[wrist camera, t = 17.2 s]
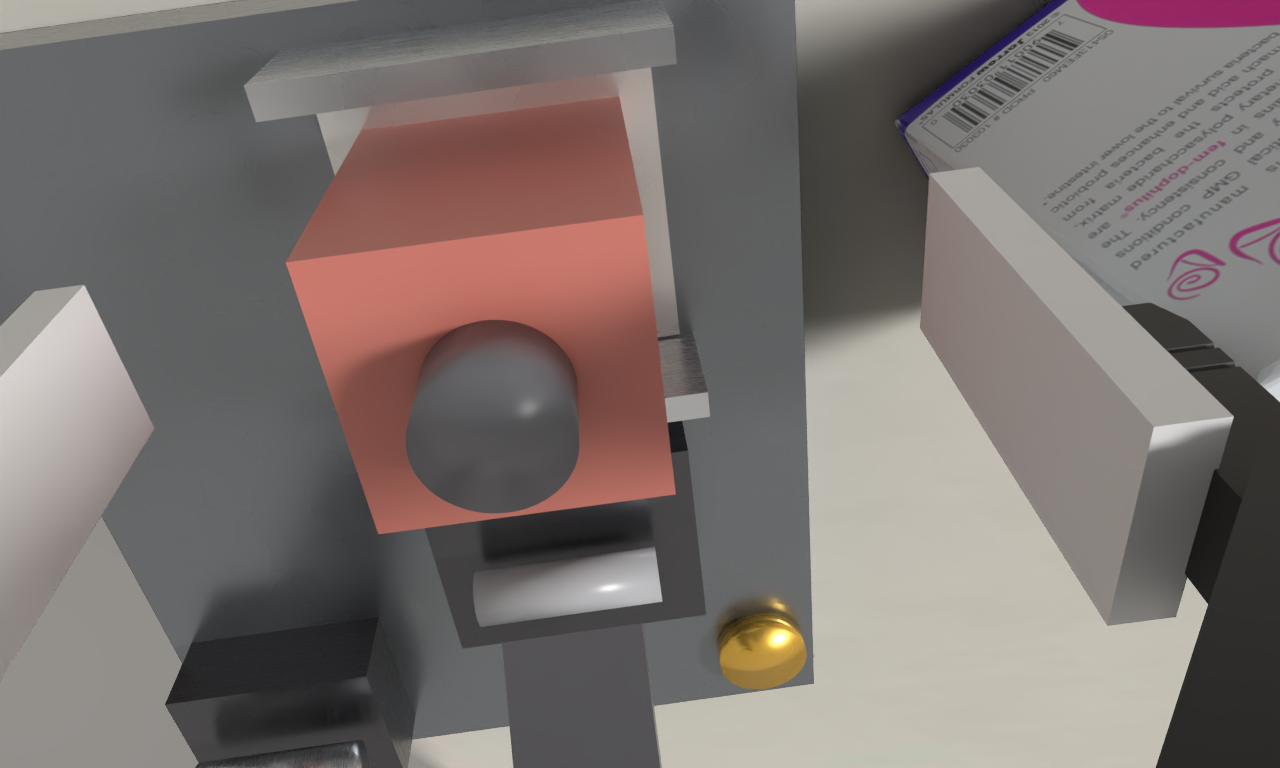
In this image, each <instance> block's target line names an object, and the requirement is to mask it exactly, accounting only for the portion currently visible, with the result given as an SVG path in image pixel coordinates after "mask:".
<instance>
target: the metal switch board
mask: <svg viewBox="0 0 1280 768" xmlns="http://www.w3.org/2000/svg"><path fill="white" fill-rule="evenodd" d="M618 96H619V98H620V102H621V107H622V112H623V117H624V122H625V127H626V132H627V137H628V142H629V147H630V152H631V157H632V161H633V166H634V171H635V176H636V181H637V186H638V191H639V196H640V201H641V206H642V211H643V216H644V225H645V233H646V242H647V251H648V259H649V268H650V276H651V285H652V294H653V302H654V311H655V320H656V328H657V337H658V345H659V354H660V363H661V371H662V380H663V388H664V397H665V406H666V414H667V423H668V432H669V440H670V449H671V457H672V466H673V475H674V483H675V492H676V494H675V495H668V496H660V497H653V498H645V499H638V500H630V501H623V502H615V503H608V504H601V505H593V506H586V507H578V508H571V509H563V510H556V511H548V512H541V513H534V514H526V515H519V516H511V517H504V518H496V519H489V520H482V521H474V522H467V523H459V524H452V525H444V526H437V527H429V528H422V529H415V530H407V531H400V532H392V533H385V534H378V532H377V529H376V526H375V523H374V520H373V517H372V514H371V511H370V508H369V505H368V502H367V499H366V496H365V494H364V491H363V488H362V485H361V482H360V479H359V476H358V473H357V470H356V467H355V464H354V461H353V458H352V455H351V452H350V450H349V447H348V444H347V441H346V438H345V435H344V432H343V429H342V426H341V423H340V420H339V417H338V414H337V411H336V409H335V406H334V403H333V400H332V397H331V394H330V391H329V388H328V385H327V382H326V379H325V376H324V373H323V370H322V367H321V365H320V362H319V359H318V356H317V353H316V350H315V347H314V344H313V341H312V338H311V335H310V332H309V329H308V326H307V323H306V321H305V318H304V315H303V312H302V309H301V306H300V303H299V300H298V297H297V294H296V291H295V288H294V285H293V282H292V279H291V277H290V274H289V271H288V268H287V265H286V261H287V259H288V258H289V256H290V254H291V252H292V250H293V249H294V247H295V245H296V243H297V242H298V240H299V238H300V236H301V235H302V233H303V231H304V229H305V228H306V226H307V224H308V222H309V221H310V219H311V217H312V215H313V214H314V212H315V210H316V208H317V207H318V205H319V203H320V201H321V200H322V198H323V196H324V194H325V193H326V191H327V189H328V187H329V186H330V184H331V182H332V180H333V179H334V177H335V175H336V173H337V172H338V170H339V168H340V166H341V165H342V163H343V161H344V159H345V158H346V156H347V154H348V152H349V151H350V149H351V147H352V145H353V143H354V142H355V140H356V138H357V136H358V135H359V133H360V131H362V130H369V129H377V128H384V127H392V126H399V125H407V124H414V123H422V122H429V121H437V120H444V119H452V118H459V117H467V116H475V115H482V114H490V113H497V112H505V111H512V110H520V109H527V108H535V107H542V106H550V105H557V104H565V103H572V102H580V101H588V100H595V99H603V98H610V97H618ZM78 285H85V287H86V289H87V291H88V293H89V295H90V298H91V300H92V302H93V304H94V306H95V308H96V310H97V312H98V314H99V316H100V318H101V320H102V322H103V324H104V326H105V328H106V330H107V332H108V334H109V336H110V338H111V340H112V342H113V345H114V347H115V349H116V351H117V353H118V355H119V357H120V359H121V361H122V363H123V365H124V367H125V369H126V371H127V373H128V375H129V377H130V379H131V381H132V383H133V385H134V387H135V389H136V392H137V394H138V396H139V398H140V400H141V402H142V404H143V406H144V408H145V410H146V412H147V414H148V416H149V418H150V420H151V422H152V424H153V426H154V430H153V431H152V433H151V435H150V436H149V438H148V440H147V441H146V443H145V445H144V446H143V448H142V449H141V451H140V453H139V454H138V456H137V458H136V459H135V461H134V463H133V464H132V466H131V468H130V469H129V471H128V472H127V474H126V476H125V477H124V479H123V481H122V482H121V484H120V486H119V487H118V489H117V491H116V492H115V494H114V495H113V497H112V499H111V500H110V502H109V504H108V505H107V507H106V509H105V510H104V512H103V514H102V515H101V516H102V518H103V519H104V521H105V523H106V525H107V527H108V529H109V530H110V532H111V534H112V536H113V538H114V540H115V541H116V543H117V545H118V547H119V549H120V550H121V552H122V554H123V556H124V558H125V559H126V561H127V563H128V565H129V567H130V569H131V571H132V572H133V574H134V576H135V578H136V580H137V582H138V583H139V585H140V587H141V589H142V591H143V592H144V594H145V596H146V598H147V600H148V602H149V603H150V605H151V607H152V609H153V611H154V613H155V614H156V616H157V618H158V620H159V621H160V623H161V625H162V627H163V629H164V631H165V632H166V634H167V636H168V638H169V640H170V642H171V644H172V645H173V647H174V649H175V651H176V653H177V654H178V656H179V658H180V660H181V662H182V666H181V669H180V671H179V673H178V676H177V678H176V680H175V683H174V685H173V687H172V690H171V692H170V694H169V697H168V699H167V701H166V704H165V705H166V707H167V709H168V711H169V712H170V714H171V716H172V717H173V719H174V721H175V723H176V724H177V726H178V728H179V729H180V731H181V733H182V735H183V736H184V738H185V740H186V741H187V743H188V745H189V746H190V748H191V750H192V752H193V753H194V755H195V757H196V759H197V760H198V762H199V764H198V765H197V766H196V768H408V762H409V756H410V750H411V743H412V739H419V738H426V737H433V736H441V735H448V734H455V733H462V732H469V731H477V730H484V729H491V728H498V727H505V726H510V724H509V713H508V703H507V692H506V681H505V671H504V660H503V649H502V643H504V642H511V641H518V640H525V639H532V638H540V637H547V636H554V635H561V634H568V633H576V632H583V631H590V630H597V629H604V628H611V627H619V626H626V625H633V624H640V623H642V624H643V628H644V636H645V643H646V651H647V659H648V666H649V674H650V681H651V689H652V697H653V704H654V706H656V705H663V704H670V703H678V702H685V701H692V700H699V699H706V698H713V697H721V696H728V695H735V694H742V693H749V692H757V691H764V690H771V689H778V688H785V687H792V686H800V685H807V684H814V673H813V637H812V601H811V565H810V529H809V493H808V457H807V421H806V384H805V348H804V312H803V276H802V240H801V204H800V168H799V132H798V96H797V60H796V23H795V0H237V1H230V2H223V3H216V4H209V5H201V6H194V7H187V8H180V9H172V10H165V11H158V12H151V13H144V14H136V15H129V16H122V17H115V18H108V19H100V20H93V21H86V22H79V23H72V24H64V25H57V26H50V27H43V28H36V29H28V30H21V31H14V32H7V33H0V326H1V325H2V324H3V323H4V322H5V321H6V320H7V319H8V318H9V317H10V316H11V315H12V314H13V313H14V312H15V311H16V310H17V309H18V308H19V307H20V306H21V305H22V304H23V303H24V302H25V301H26V300H27V299H28V298H29V297H30V296H31V295H32V294H33V293H34V292H35V291H40V290H48V289H55V288H63V287H70V286H78ZM650 547H655V551H656V558H657V565H658V572H659V579H660V587H661V594H662V602H657V603H650V604H643V605H635V606H628V607H621V608H614V609H607V610H599V611H592V612H585V613H578V614H571V615H564V616H556V617H549V618H542V619H535V620H528V621H520V622H513V623H506V624H499V625H492V626H485V627H481V626H480V625H479V623H478V620H477V617H476V613H475V607H474V598H473V578H474V574H475V572H477V571H485V570H492V569H499V568H506V567H513V566H521V565H528V564H535V563H542V562H549V561H556V560H564V559H571V558H578V557H585V556H592V555H600V554H607V553H614V552H621V551H628V550H636V549H643V548H650Z"/></svg>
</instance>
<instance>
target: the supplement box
mask: <svg viewBox="0 0 1280 768" xmlns="http://www.w3.org/2000/svg"><path fill="white" fill-rule="evenodd" d="M895 125H896V127H897V128H898V130H899V131H900V133H901V135H902V137H903V139H904V141H905V143H906V144H907V146H908V147H909V149H910V150H911V152H912V154H913V155H914V156H915V158H916V160H917V162H918V163H919V165H920V166H921V168H922V170H923V171H924V173H925V175H926V176H927V178H928V179H929V174H930V173H937V172H945V171H952V170H960V169H968V168H975V167H980V168H981V169H982V170H983V171H984V172H985V173H986V174H987V175H988V176H989V177H990V178H991V179H992V180H993V181H994V182H995V183H996V184H997V185H998V186H999V187H1000V188H1001V189H1002V190H1003V191H1004V192H1005V193H1006V194H1007V195H1008V196H1009V197H1010V198H1011V199H1012V200H1013V201H1014V202H1015V203H1016V204H1017V205H1018V206H1019V207H1020V208H1021V209H1022V210H1024V211H1025V212H1026V213H1027V214H1028V215H1029V216H1030V217H1031V218H1032V219H1033V220H1034V221H1035V222H1036V223H1037V224H1038V225H1039V226H1040V227H1041V228H1042V229H1043V230H1044V231H1045V232H1046V233H1047V234H1048V235H1049V236H1050V237H1051V238H1052V239H1053V240H1054V241H1055V242H1056V243H1057V244H1058V245H1059V246H1060V247H1061V248H1062V249H1063V250H1064V251H1065V252H1066V253H1067V254H1068V255H1069V256H1070V257H1072V258H1073V259H1074V260H1075V261H1076V262H1077V263H1078V264H1079V265H1080V266H1081V267H1082V268H1083V269H1084V270H1085V271H1086V272H1087V273H1088V274H1089V275H1090V276H1091V277H1092V278H1093V279H1094V280H1095V281H1096V282H1097V283H1098V284H1099V285H1100V286H1101V287H1102V288H1103V289H1104V290H1105V291H1106V292H1107V293H1108V294H1109V295H1110V296H1111V297H1112V298H1113V299H1114V300H1115V301H1116V302H1117V303H1118V304H1120V305H1121V306H1127V305H1135V304H1142V303H1150V302H1151V303H1153V304H1155V305H1157V306H1159V307H1161V308H1164V309H1166V310H1168V311H1170V312H1172V313H1174V314H1176V315H1179V316H1181V317H1183V318H1185V319H1187V320H1189V321H1190V322H1191V323H1192V324H1193V325H1195V326H1196V327H1197V328H1198V329H1199V330H1200V331H1201V332H1202V333H1203V334H1205V335H1206V336H1207V337H1208V338H1209V339H1210V340H1211V341H1212V342H1214V347H1215V348H1218V347H1219V348H1220V349H1221V350H1222V351H1224V352H1225V353H1226V354H1227V355H1228V356H1229V357H1230V358H1231V359H1232V360H1234V361H1235V366H1236V367H1238V366H1240V367H1241V368H1243V369H1244V370H1245V371H1246V372H1247V373H1248V374H1249V375H1250V376H1251V377H1253V378H1254V379H1255V380H1256V381H1257V382H1258V383H1259V384H1260V385H1261V386H1263V387H1264V388H1265V389H1266V390H1267V391H1268V392H1269V393H1270V394H1272V395H1273V396H1274V397H1275V398H1276V399H1277V400H1278V401H1279V402H1280V0H1053V1H1051V2H1050V3H1049V4H1047V5H1046V6H1045V7H1043V8H1042V9H1041V10H1039V11H1038V12H1037V13H1035V14H1034V15H1032V16H1031V17H1030V18H1029V19H1027V20H1026V21H1025V22H1024V23H1023V24H1022V25H1020V26H1019V27H1017V28H1016V29H1014V30H1013V31H1011V32H1010V33H1009V34H1008V35H1007V36H1005V37H1004V38H1003V39H1002V40H1000V41H999V42H997V43H996V44H995V45H993V46H992V47H991V48H990V49H988V50H987V51H986V52H984V53H983V54H982V55H981V56H979V57H978V58H977V59H975V60H974V61H973V62H971V63H970V64H969V65H967V66H966V67H965V68H963V69H962V70H961V71H960V72H958V73H957V74H956V75H954V76H953V77H952V78H950V79H949V80H948V81H946V82H945V83H944V84H942V85H941V86H940V87H939V88H937V89H936V90H935V91H933V92H932V93H931V94H930V95H928V96H927V97H926V98H924V99H923V100H922V101H920V102H919V103H918V104H917V105H915V106H914V107H913V108H911V109H910V110H908V111H907V112H905V113H904V114H903V115H902V116H900V117H899V118H898V119H897V120H896V121H895Z"/></svg>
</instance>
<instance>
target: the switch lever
mask: <svg viewBox="0 0 1280 768" xmlns="http://www.w3.org/2000/svg"><path fill="white" fill-rule="evenodd" d="M473 598H474V607H475V613H476V617H477V620H478V623H479V625H480V626H481V627H485V626H492V625H499V624H506V623H513V622H520V621H528V620H535V619H542V618H549V617H556V616H564V615H571V614H578V613H585V612H592V611H599V610H607V609H614V608H621V607H628V606H635V605H643V604H650V603H657V602H662V594H661V587H660V579H659V572H658V565H657V558H656V551H655V547H650V548H643V549H636V550H628V551H621V552H614V553H607V554H600V555H592V556H585V557H578V558H571V559H564V560H556V561H549V562H542V563H535V564H528V565H521V566H513V567H506V568H499V569H492V570H485V571H477V572H475V574H474V578H473ZM502 649H503V660H504V671H505V681H506V692H507V703H508V713H509V724H510V735H511V745H512V756H513V767H514V768H662V765H661V758H660V750H659V742H658V735H657V727H656V719H655V712H654V704H653V697H652V689H651V681H650V674H649V666H648V659H647V651H646V643H645V636H644V628H643V624H642V623H640V624H633V625H626V626H619V627H611V628H604V629H597V630H590V631H583V632H576V633H568V634H561V635H554V636H547V637H540V638H532V639H525V640H518V641H511V642H504V643H502Z"/></svg>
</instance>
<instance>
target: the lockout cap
mask: <svg viewBox="0 0 1280 768" xmlns="http://www.w3.org/2000/svg"><path fill="white" fill-rule="evenodd" d="M286 265H287V268H288V271H289V274H290V277H291V279H292V282H293V285H294V288H295V291H296V294H297V297H298V300H299V303H300V306H301V309H302V312H303V315H304V318H305V321H306V323H307V326H308V329H309V332H310V335H311V338H312V341H313V344H314V347H315V350H316V353H317V356H318V359H319V362H320V365H321V367H322V370H323V373H324V376H325V379H326V382H327V385H328V388H329V391H330V394H331V397H332V400H333V403H334V406H335V409H336V411H337V414H338V417H339V420H340V423H341V426H342V429H343V432H344V435H345V438H346V441H347V444H348V447H349V450H350V452H351V455H352V458H353V461H354V464H355V467H356V470H357V473H358V476H359V479H360V482H361V485H362V488H363V491H364V494H365V496H366V499H367V502H368V505H369V508H370V511H371V514H372V517H373V520H374V523H375V526H376V529H377V532H378V534H385V533H392V532H400V531H407V530H415V529H422V528H429V527H437V526H444V525H452V524H459V523H467V522H474V521H482V520H489V519H496V518H504V517H511V516H519V515H526V514H534V513H541V512H548V511H556V510H563V509H571V508H578V507H586V506H593V505H601V504H608V503H615V502H623V501H630V500H638V499H645V498H653V497H660V496H668V495H675V494H676V492H675V483H674V475H673V466H672V457H671V449H670V440H669V432H668V423H667V414H666V406H665V397H664V388H663V380H662V371H661V363H660V354H659V345H658V337H657V328H656V320H655V311H654V302H653V294H652V285H651V276H650V268H649V259H648V251H647V242H646V233H645V225H644V216H643V211H642V206H641V201H640V196H639V191H638V186H637V181H636V176H635V171H634V166H633V161H632V157H631V152H630V147H629V142H628V137H627V132H626V127H625V122H624V117H623V112H622V107H621V102H620V98H619V96H618V97H610V98H603V99H595V100H588V101H580V102H572V103H565V104H557V105H550V106H542V107H535V108H527V109H520V110H512V111H505V112H497V113H490V114H482V115H475V116H467V117H459V118H452V119H444V120H437V121H429V122H422V123H414V124H407V125H399V126H392V127H384V128H377V129H369V130H362V131H360V133H359V135H358V136H357V138H356V140H355V142H354V143H353V145H352V147H351V149H350V151H349V152H348V154H347V156H346V158H345V159H344V161H343V163H342V165H341V166H340V168H339V170H338V172H337V173H336V175H335V177H334V179H333V180H332V182H331V184H330V186H329V187H328V189H327V191H326V193H325V194H324V196H323V198H322V200H321V201H320V203H319V205H318V207H317V208H316V210H315V212H314V214H313V215H312V217H311V219H310V221H309V222H308V224H307V226H306V228H305V229H304V231H303V233H302V235H301V236H300V238H299V240H298V242H297V243H296V245H295V247H294V249H293V250H292V252H291V254H290V256H289V258H288V259H287V261H286Z"/></svg>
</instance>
